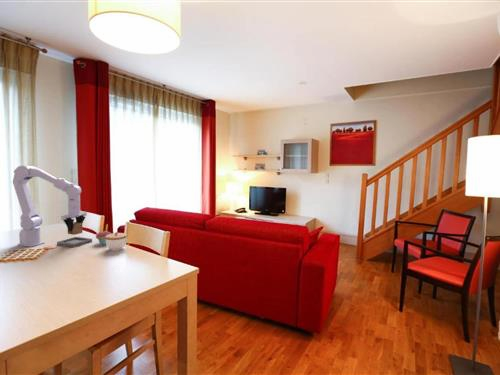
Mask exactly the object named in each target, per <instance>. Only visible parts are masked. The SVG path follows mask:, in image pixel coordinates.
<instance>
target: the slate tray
mask: <svg viewBox="0 0 500 375" xmlns="http://www.w3.org/2000/svg"><path fill="white" fill-rule="evenodd" d="M92 242H93V238H89V237H88V238H87V237H80V236H73V237H70V238H66V239H61V240H59V241H56V246H61V247H68V248H77V247H79V246H82V245H85V244H89V243H92Z"/></svg>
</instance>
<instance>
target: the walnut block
mask: <svg viewBox="0 0 500 375" xmlns="http://www.w3.org/2000/svg"><path fill="white" fill-rule="evenodd" d="M82 233H83V223H81V222H76V221H73V229H72V231H68V230H67V234H68V235H71V236H72V235H73V236H75V235H79V234H82Z"/></svg>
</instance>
